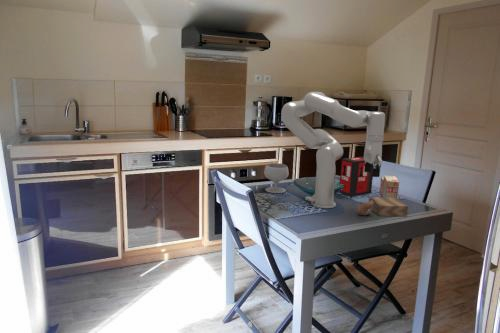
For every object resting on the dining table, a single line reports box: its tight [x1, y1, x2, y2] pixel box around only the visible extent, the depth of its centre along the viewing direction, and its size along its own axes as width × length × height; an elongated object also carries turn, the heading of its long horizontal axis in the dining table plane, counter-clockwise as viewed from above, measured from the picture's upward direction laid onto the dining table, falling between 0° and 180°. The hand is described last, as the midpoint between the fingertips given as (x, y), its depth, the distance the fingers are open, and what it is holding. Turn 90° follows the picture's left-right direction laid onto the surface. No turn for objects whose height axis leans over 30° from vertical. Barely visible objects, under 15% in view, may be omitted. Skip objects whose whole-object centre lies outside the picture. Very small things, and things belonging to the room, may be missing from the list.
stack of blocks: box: [379, 175, 400, 199], centre depth 213 cm, size 21×6×12 cm, turn 169°
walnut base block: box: [368, 196, 409, 217], centre depth 191 cm, size 14×14×5 cm
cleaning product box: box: [338, 156, 374, 198], centre depth 219 cm, size 16×9×20 cm, turn 120°
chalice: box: [263, 162, 290, 194], centre depth 218 cm, size 14×14×15 cm
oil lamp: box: [357, 199, 375, 216], centre depth 184 cm, size 9×4×8 cm, turn 106°
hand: (371, 174), depth 181 cm, fingers open, 9 cm apart
